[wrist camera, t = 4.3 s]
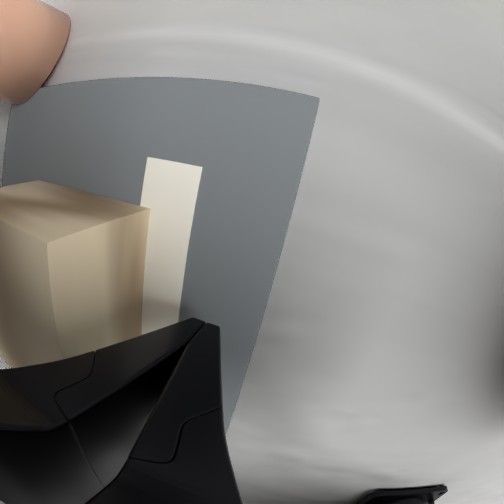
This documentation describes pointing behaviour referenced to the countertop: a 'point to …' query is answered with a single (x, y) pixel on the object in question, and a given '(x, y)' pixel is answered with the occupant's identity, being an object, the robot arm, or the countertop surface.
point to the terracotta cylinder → (29, 46)
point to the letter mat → (181, 187)
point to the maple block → (68, 272)
